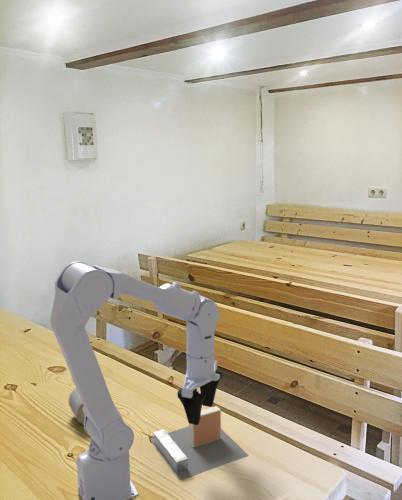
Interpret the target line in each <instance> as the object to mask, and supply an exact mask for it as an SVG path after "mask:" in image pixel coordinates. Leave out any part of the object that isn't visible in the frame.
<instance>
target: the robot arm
mask: <svg viewBox="0 0 402 500" xmlns="http://www.w3.org/2000/svg"><path fill="white" fill-rule="evenodd" d="M54 292H55V293H54V298H53V299H54V300H53V305H52V310H51V316H50V327H51V328H52V331H53V333H54V335H55V338H56V341H57V343H58V347H59V348H60V351H61V353H62V355H63V356H62V357H64V358H63V359H64V361H65V363H66V366H67V368H68V370H69V372H70V373H69V374H70V376H71V378H72V380H73V383H74V386H75V388H77V391H78V393H79V395H80V398H81V400H82V403H83V405H84V407H83V409H82V410H83V412H84V417H85V419H84V425H83V428H84V431H85V433H86V434H87V435H88V436H90V442H89V446H88V449H87V450H86V451H85V452H82V453H81V454H79V455H77V456H76V468H77V471H76V472H77V485H78V486H77V490H78V492H79V496H80V497H81V499H82V500H129V499H133V498H135V497H137V496H138V495H139V492H138V490H137V489H136V487H135V485H134V484H133V482H132V480H131V470H130V469H131V467H130V465H131V464H130V450H131V448H132V446H133V444H134V440H135V433H134V430H133V429H132V427H131V426H129V425H128V424H127V423H125V421H124V419H123V417H122V414H121V413H120V412H119V409H118V408H117V406H116V404H115V403H114V401H113V399H112V396H111V394H110V391H109V389H108V386H107V383H106V379H105V378H104V375H103V373H102V369H101V367H100V364H99V361H98V359H97V356H96V354H95V351H94V348H93V346H92V343H91V341H90V338H89V335H88V332H87V329H86V328H85V327H86V326H87V323H88V322H89V320H90V319H91V318H92V317H93V316H94V315H95V314H96V313H97V312H98V311H99V310H100V309H101V308H102V307H103V306H104V305H105V304H106V303H107V302H108V301H109V299H111V300H115V299H117V298H119V297H120V296H121V295H122V294H123V295H127V296H129V297H133V298H136V299H139V300H144V301H147V302H150V303H152V304H153V305H154V309H155V311H157V312H158V313H161V314H164V315H167V316H170V317H173V318H177V319H179V320H182V321H185V323H186V324H185V327H186V329H185V330H186V333H185V335H186V338H185V339H186V373H185V376H184V377H185V378H184V382H183V385H182V387H181V388H180V389H179V390H178V391H177V394H176V395H177V398H178V399H179V401H180V402H181V404H182V406H183V408H184V409H183V410H184V412H185V417H186V419H187V422H188V424H189V423H190V424H194V425H198V424H199V421H200V416H201V410H202V407H208V408H211V407H213V405H214V401H215V398H216V397H215V396H216V393H217V388H218V385H219V383H220V381H221V379H222V377H223V374H222V372H220V371H219V372H218V371H217V370H218V360H215V333H216V330H217V329H216V327H217V326H216V325H217V324H218V321H219V320H220V318H221V310H219V307H218V305H217V303H216V301H214V300H213V299H210V298H208V297H205V296H202V295H200V292H198V291H195V290H192V291H190V290H187V289H184V288H182V284H179V283H177V282H173V281H172V283H169V282H168V283H164V284H162V285H160V286H156V285H153V284H152V283H149V282H146V281H144V280H142V279H139V278H136V277H134V276H133V275H132V276H131V275H129V274H126V273H124V272H122V271H119V270H116V269H112V268H108V267H104V266H100V265H96V264H92V266H91V265H89V264H88V263H86V262H84V261H73V262H70V263H68V264H67V265H65V267H63V269H62V271H61V272H60V274H58V276H57V279H55V281H54ZM198 388H199V389H200V392H199V390H198Z"/></svg>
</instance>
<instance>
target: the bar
mask: <svg viewBox="0 0 402 500" xmlns="http://www.w3.org/2000/svg"><path fill="white" fill-rule="evenodd" d="M167 433H168V432H167V431H166V430H165V429H160V430H157V431H153V437H154V444H155V445H156V446H157V448H158V449H159V450H160V452H161V453H162V454H163V456H164V457H165V458H166V460H167V461H168V462H169V464H170V465H171V466H172V468H173V469H174V470H175V472H176V473H180V472H183V471H186V470H188V458H187V457H186V455H185V454H184V453H183V452H182V451H181V449H180V448H179V447H178V446H177V445H176V443H175V442H174V441H173V440H172V438H171V437H170V436H169V435H168V434H167ZM154 444H153V445H154ZM155 445H154V446H155ZM157 448H156V449H157ZM160 452H159V453H160ZM163 456H162V457H163ZM166 460H165V461H166ZM169 464H168V465H169Z"/></svg>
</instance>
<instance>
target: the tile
mask: <svg viewBox="0 0 402 500" xmlns="http://www.w3.org/2000/svg"><path fill="white" fill-rule="evenodd" d="M221 413H222V410H221V408H219V407H218V405H216V406H212V407H208V408H205V409H201V416H200V421H199V424H198V425H194V424H190V423H189V422H188V427H189V443H190V445H191V446H192V447H193V448H194V447H197V446H200V445H203V444H206V443H209V442H212V441H215V440H218V439H221V429H222V424H221V423H222V422H221V420H222V414H221Z"/></svg>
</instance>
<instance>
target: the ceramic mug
mask: <svg viewBox="0 0 402 500" xmlns="http://www.w3.org/2000/svg"><path fill="white" fill-rule="evenodd" d="M68 405H69V407H70V409H71V412H72V413H73V415H74V417H75V419H76V420H77V422H79V423H80V424H81V425H83V426H84V419H85V417H84V412H83V410H82V409H83V407H84V405H83V403H82V400H81V398H80V395H79V393H78V391H77V388H76V387H75V388H74V389H72V391H71V393H70V394H69V397H68Z"/></svg>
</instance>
